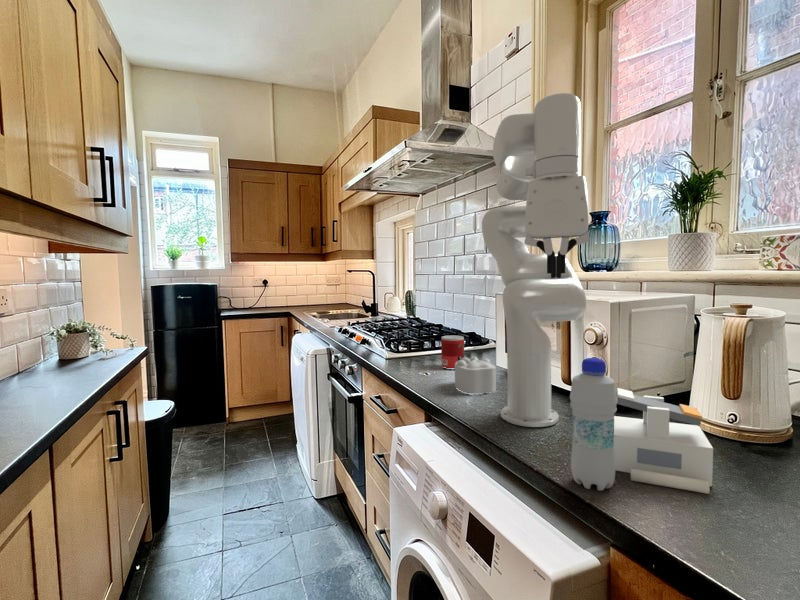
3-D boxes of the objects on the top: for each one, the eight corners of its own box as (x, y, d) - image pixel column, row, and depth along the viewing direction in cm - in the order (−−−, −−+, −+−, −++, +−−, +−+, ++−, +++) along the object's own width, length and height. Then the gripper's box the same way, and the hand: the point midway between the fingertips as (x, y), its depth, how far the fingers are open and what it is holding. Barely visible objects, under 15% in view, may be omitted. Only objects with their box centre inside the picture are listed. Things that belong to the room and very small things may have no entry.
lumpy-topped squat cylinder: (465, 396, 112) (464, 365, 111) (449, 384, 124) (448, 355, 124) (500, 393, 114) (500, 362, 113) (481, 381, 126) (480, 353, 126)
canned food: (462, 370, 140) (462, 338, 139) (439, 369, 142) (439, 338, 141) (465, 365, 147) (465, 335, 146) (443, 365, 149) (443, 335, 149)
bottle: (602, 472, 68) (603, 353, 67) (625, 493, 61) (627, 361, 60) (562, 473, 68) (562, 354, 67) (581, 495, 61) (582, 363, 60)
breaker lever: (615, 396, 74) (617, 387, 74) (693, 416, 69) (696, 407, 69) (616, 403, 70) (618, 394, 70) (699, 426, 65) (702, 417, 65)
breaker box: (608, 446, 78) (608, 390, 77) (698, 459, 72) (699, 398, 71) (609, 469, 69) (610, 406, 68) (712, 487, 63) (714, 417, 62)
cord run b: (631, 482, 65) (631, 471, 64) (630, 477, 66) (630, 466, 66) (709, 496, 60) (709, 484, 60) (706, 490, 62) (706, 478, 62)
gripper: (509, 172, 71) (509, 279, 72) (605, 162, 65) (604, 278, 66) (515, 180, 78) (515, 277, 79) (603, 171, 72) (602, 276, 73)
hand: (556, 277), depth 73 cm, fingers closed
